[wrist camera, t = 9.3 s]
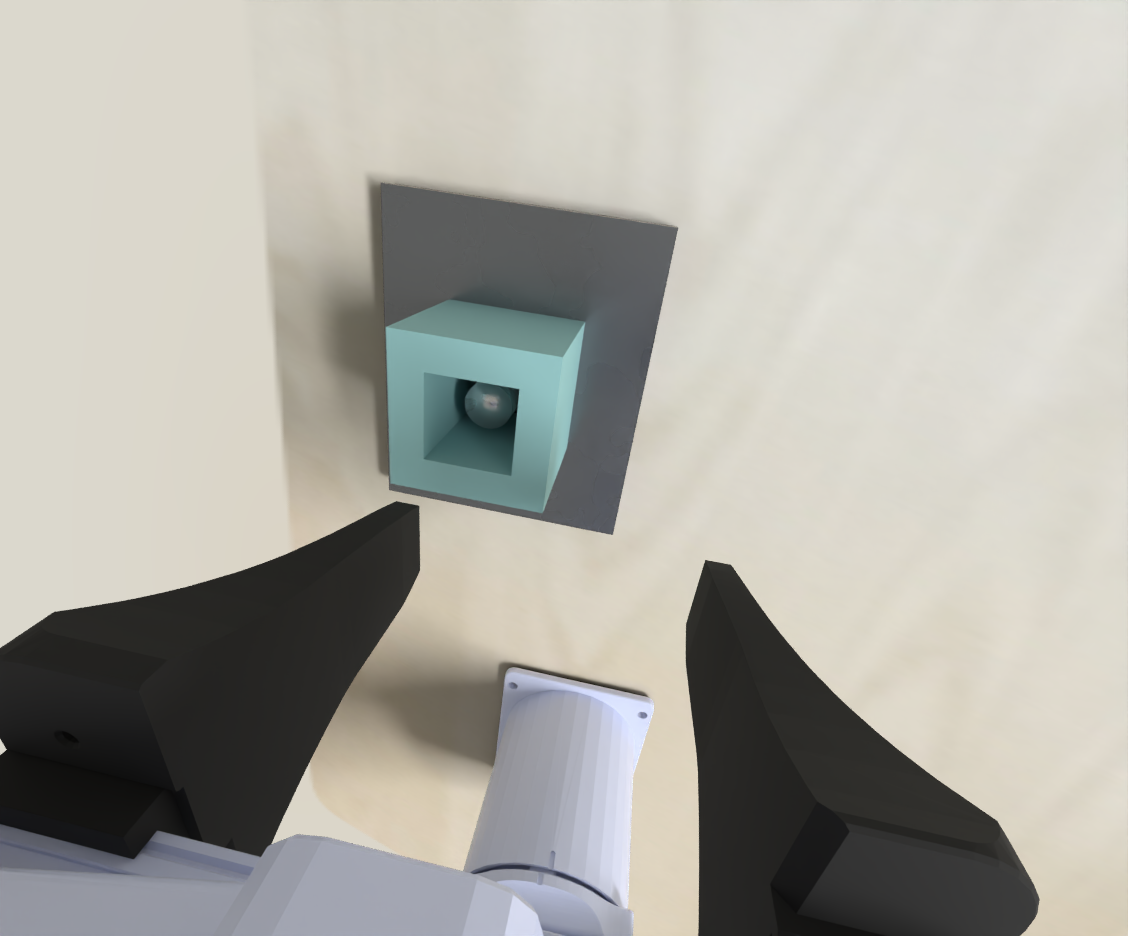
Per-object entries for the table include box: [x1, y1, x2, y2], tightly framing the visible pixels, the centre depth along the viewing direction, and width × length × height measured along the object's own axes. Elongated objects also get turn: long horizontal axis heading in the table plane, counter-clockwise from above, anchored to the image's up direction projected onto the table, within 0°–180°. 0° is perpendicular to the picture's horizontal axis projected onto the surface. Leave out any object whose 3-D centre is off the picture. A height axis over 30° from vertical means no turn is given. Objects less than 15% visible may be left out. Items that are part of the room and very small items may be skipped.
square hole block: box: [386, 299, 585, 513], centre depth 18 cm, size 5×5×5 cm
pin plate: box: [381, 183, 678, 535], centre depth 19 cm, size 12×10×4 cm
